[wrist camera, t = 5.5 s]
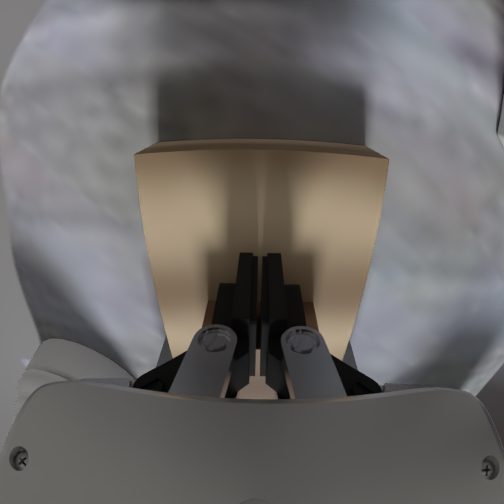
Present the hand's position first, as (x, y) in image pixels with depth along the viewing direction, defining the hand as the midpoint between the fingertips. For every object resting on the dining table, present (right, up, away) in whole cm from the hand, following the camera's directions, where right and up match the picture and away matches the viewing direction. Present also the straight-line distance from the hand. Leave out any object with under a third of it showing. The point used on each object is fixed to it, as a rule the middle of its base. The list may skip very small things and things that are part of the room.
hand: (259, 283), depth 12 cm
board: (0, +1, +4) cm, 4 cm away
